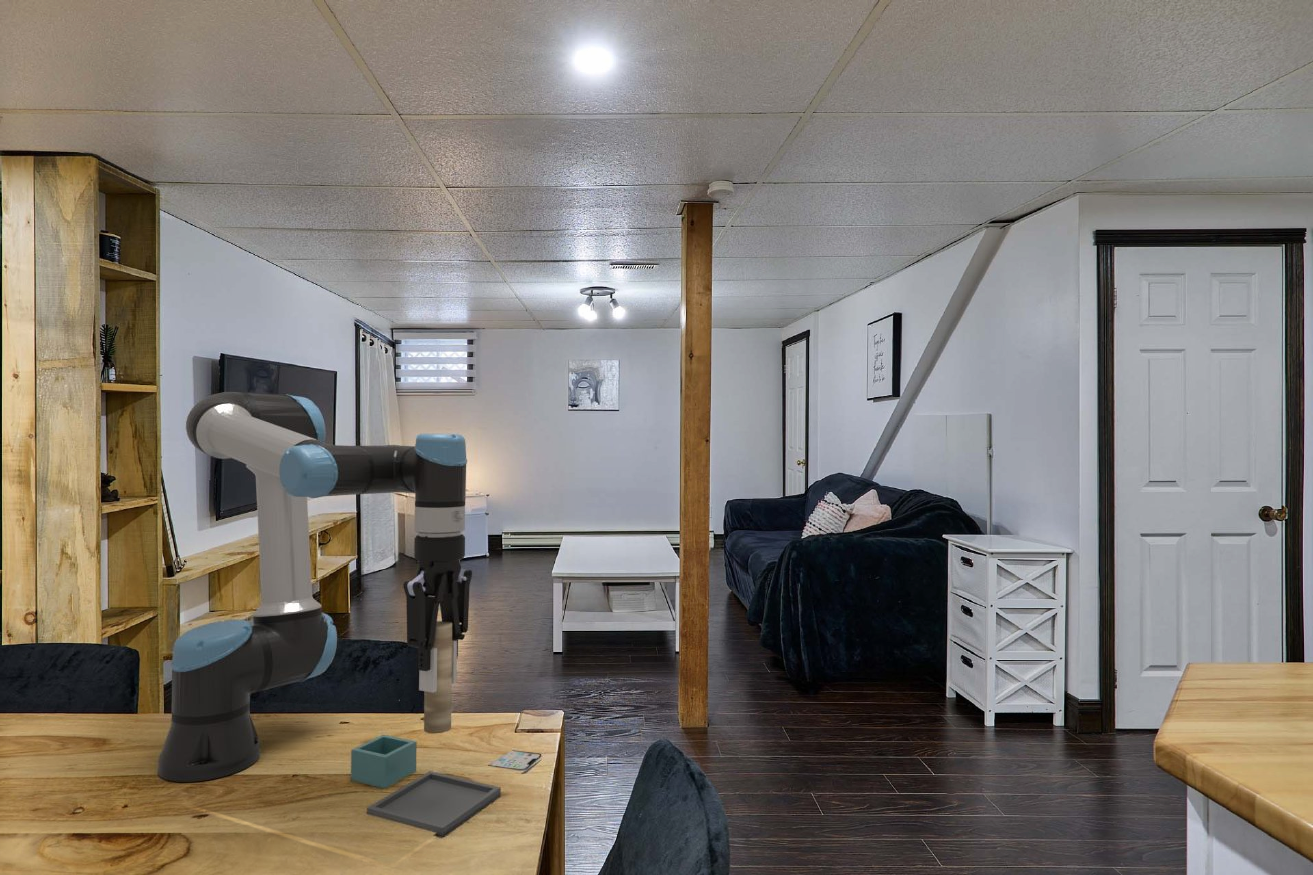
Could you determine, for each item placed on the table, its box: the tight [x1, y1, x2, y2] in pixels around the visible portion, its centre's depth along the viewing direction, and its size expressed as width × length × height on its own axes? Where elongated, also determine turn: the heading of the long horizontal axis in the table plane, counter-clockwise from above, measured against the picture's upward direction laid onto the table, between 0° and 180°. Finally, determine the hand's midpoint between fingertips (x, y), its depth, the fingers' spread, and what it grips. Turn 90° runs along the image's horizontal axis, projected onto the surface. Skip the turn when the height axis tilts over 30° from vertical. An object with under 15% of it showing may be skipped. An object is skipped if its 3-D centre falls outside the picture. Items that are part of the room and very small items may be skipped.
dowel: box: [423, 620, 453, 735], centre depth 117 cm, size 4×4×16 cm
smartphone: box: [487, 749, 542, 775], centre depth 134 cm, size 7×1×15 cm
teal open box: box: [350, 734, 418, 789], centre depth 126 cm, size 7×7×6 cm
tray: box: [366, 770, 502, 839], centre depth 117 cm, size 14×14×1 cm
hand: (438, 686), depth 117 cm, fingers closed on dowel, 4 cm apart
